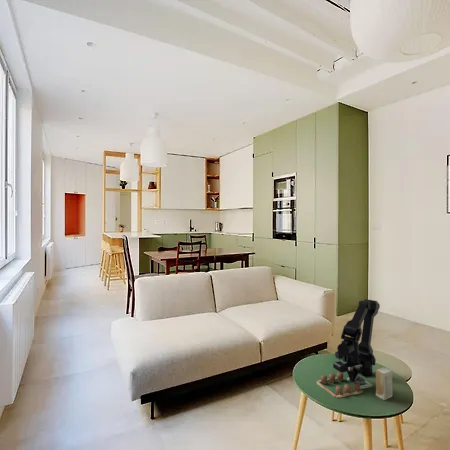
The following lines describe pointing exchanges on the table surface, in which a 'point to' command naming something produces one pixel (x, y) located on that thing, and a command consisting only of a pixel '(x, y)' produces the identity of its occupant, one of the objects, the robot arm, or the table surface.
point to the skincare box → (384, 383)
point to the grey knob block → (359, 380)
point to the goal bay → (363, 385)
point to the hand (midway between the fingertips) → (351, 382)
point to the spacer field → (338, 388)
